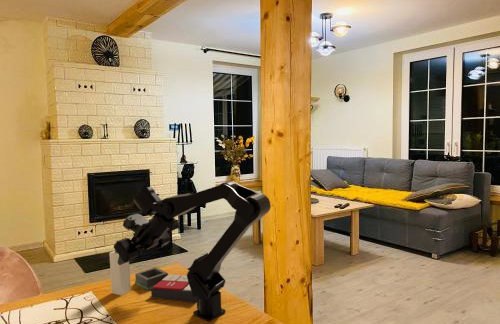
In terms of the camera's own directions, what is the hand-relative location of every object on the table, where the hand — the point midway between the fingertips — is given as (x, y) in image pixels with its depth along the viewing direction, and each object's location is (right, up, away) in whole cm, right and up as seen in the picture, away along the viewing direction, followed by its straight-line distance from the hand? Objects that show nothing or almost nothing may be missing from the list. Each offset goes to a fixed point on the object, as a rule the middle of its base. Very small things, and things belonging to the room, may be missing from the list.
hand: (130, 258), depth 114 cm
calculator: (+15, -12, +2) cm, 19 cm away
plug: (-4, -11, +3) cm, 12 cm away
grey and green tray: (+4, -10, +9) cm, 15 cm away
